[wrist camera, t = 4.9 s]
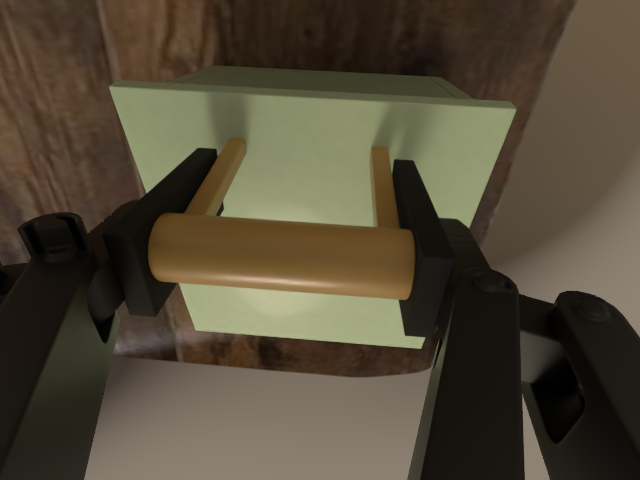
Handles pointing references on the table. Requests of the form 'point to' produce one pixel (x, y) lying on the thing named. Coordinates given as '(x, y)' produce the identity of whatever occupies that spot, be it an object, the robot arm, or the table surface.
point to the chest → (323, 81)
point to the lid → (303, 200)
